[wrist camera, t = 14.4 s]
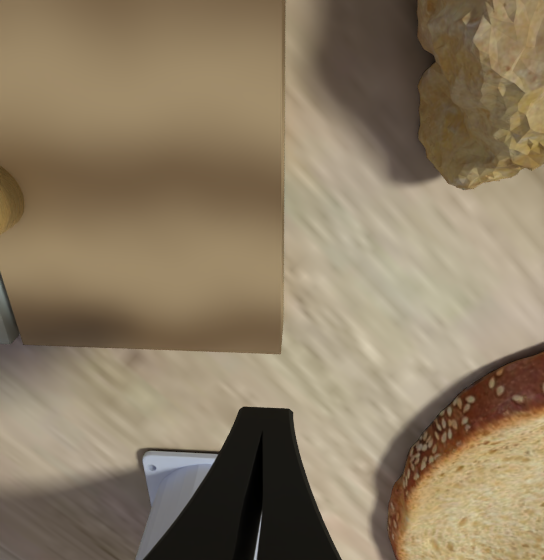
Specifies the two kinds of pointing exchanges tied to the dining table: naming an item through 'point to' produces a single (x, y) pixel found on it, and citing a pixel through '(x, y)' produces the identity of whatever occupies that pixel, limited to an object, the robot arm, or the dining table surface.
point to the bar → (9, 201)
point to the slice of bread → (477, 474)
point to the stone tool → (482, 88)
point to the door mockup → (144, 173)
